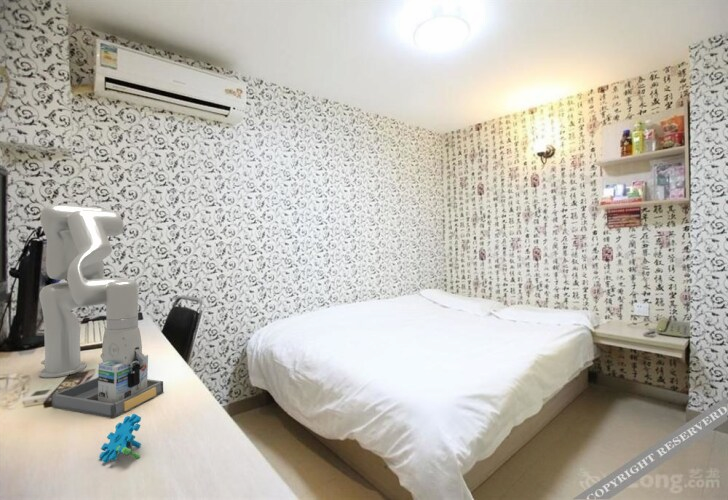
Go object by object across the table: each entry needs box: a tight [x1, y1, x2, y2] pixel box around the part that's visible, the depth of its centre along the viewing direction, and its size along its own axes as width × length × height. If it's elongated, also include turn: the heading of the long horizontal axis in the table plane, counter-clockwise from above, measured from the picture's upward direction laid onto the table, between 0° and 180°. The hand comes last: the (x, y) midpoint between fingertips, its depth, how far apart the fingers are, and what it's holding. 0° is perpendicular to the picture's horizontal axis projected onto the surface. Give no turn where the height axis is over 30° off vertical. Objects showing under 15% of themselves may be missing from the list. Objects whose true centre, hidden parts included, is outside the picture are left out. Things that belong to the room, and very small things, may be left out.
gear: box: [98, 412, 142, 464], centre depth 77 cm, size 11×6×10 cm
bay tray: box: [51, 377, 164, 419], centre depth 102 cm, size 23×16×4 cm
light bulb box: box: [97, 353, 149, 404], centre depth 101 cm, size 11×7×11 cm, turn 166°
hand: (123, 383), depth 101 cm, fingers closed on light bulb box, 6 cm apart
